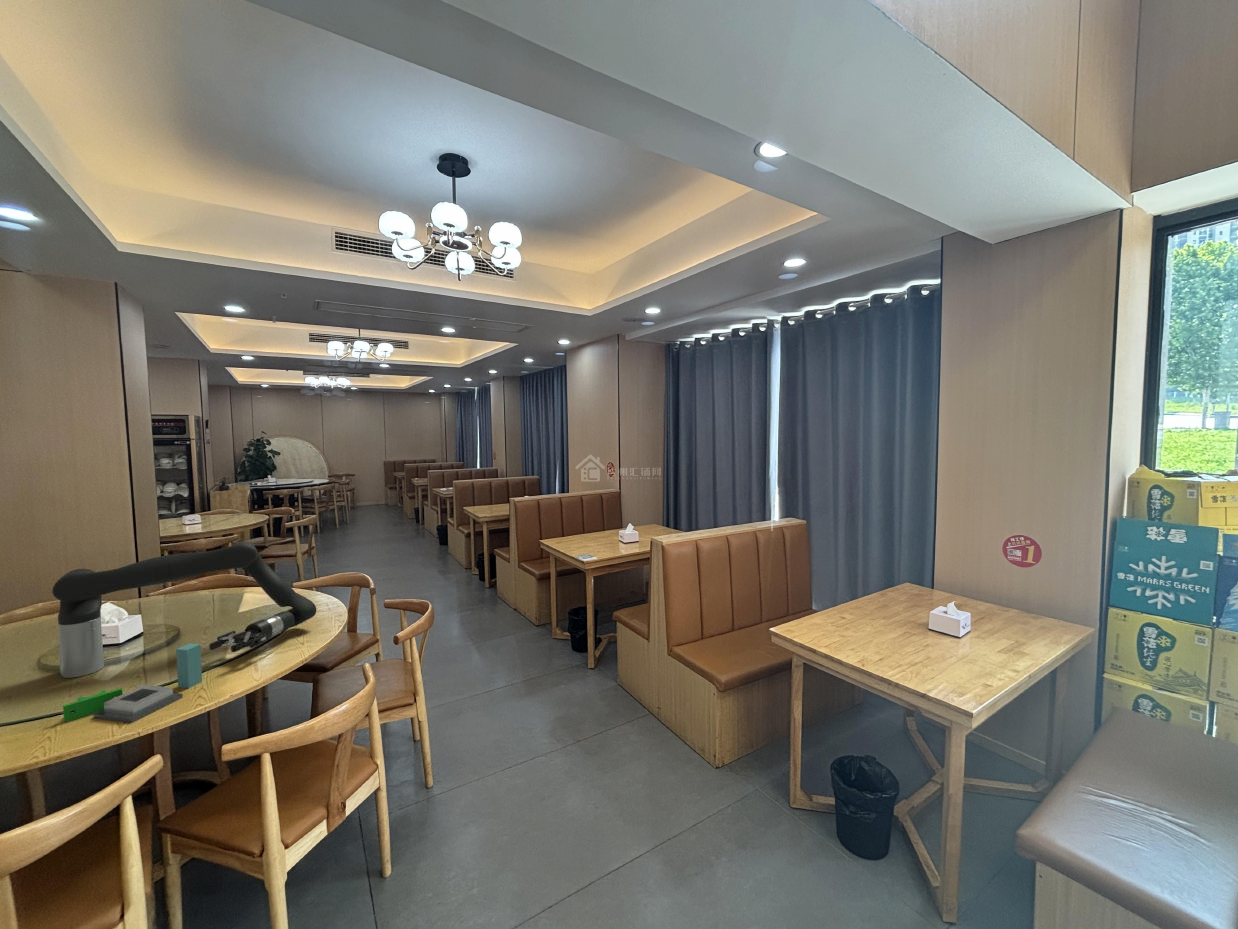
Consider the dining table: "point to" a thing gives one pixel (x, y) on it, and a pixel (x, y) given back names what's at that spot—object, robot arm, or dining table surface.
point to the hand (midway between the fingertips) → (221, 648)
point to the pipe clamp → (89, 704)
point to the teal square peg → (189, 665)
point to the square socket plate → (134, 718)
